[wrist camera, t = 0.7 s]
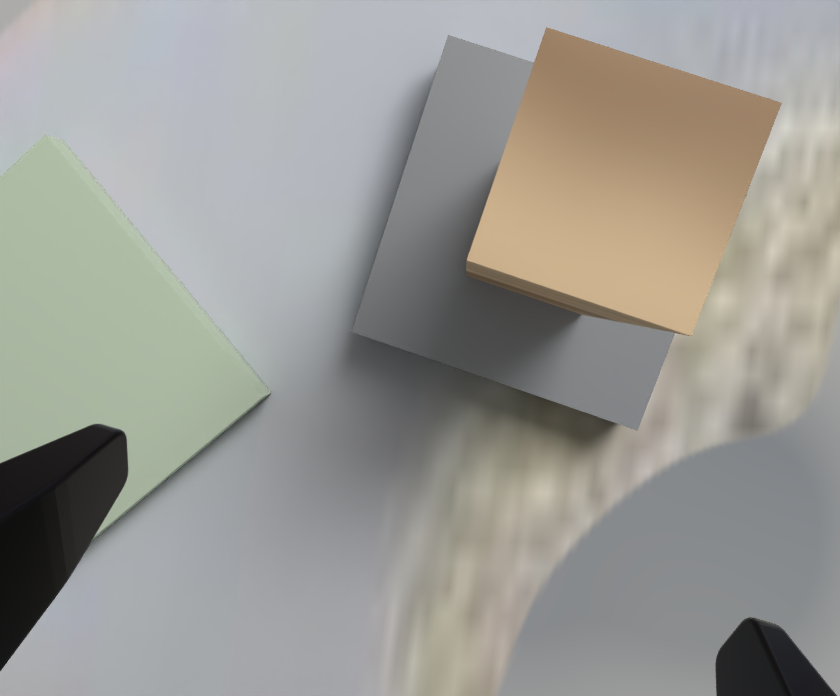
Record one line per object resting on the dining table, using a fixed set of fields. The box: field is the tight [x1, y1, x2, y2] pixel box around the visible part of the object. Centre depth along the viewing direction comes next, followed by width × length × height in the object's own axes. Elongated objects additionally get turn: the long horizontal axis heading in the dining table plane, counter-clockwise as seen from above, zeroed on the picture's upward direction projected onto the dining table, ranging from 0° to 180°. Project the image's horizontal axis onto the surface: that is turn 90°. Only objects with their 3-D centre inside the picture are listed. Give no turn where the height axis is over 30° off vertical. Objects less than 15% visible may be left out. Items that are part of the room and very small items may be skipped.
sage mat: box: [0, 135, 271, 542], centre depth 24 cm, size 12×12×1 cm
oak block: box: [466, 27, 781, 336], centre depth 16 cm, size 4×4×10 cm
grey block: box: [351, 35, 675, 430], centre depth 21 cm, size 10×10×2 cm
